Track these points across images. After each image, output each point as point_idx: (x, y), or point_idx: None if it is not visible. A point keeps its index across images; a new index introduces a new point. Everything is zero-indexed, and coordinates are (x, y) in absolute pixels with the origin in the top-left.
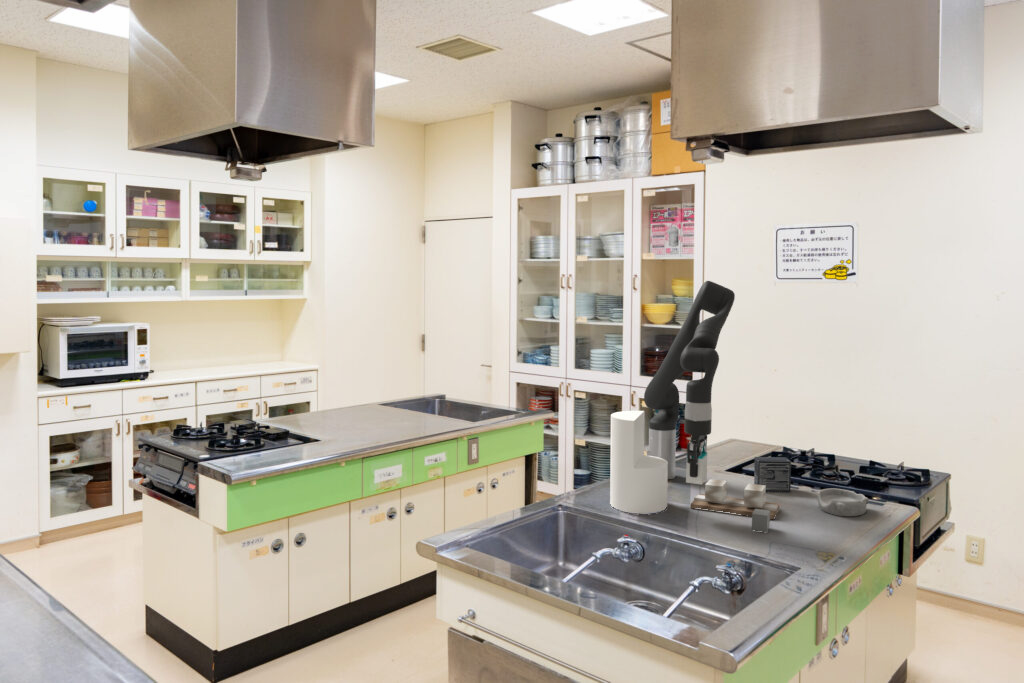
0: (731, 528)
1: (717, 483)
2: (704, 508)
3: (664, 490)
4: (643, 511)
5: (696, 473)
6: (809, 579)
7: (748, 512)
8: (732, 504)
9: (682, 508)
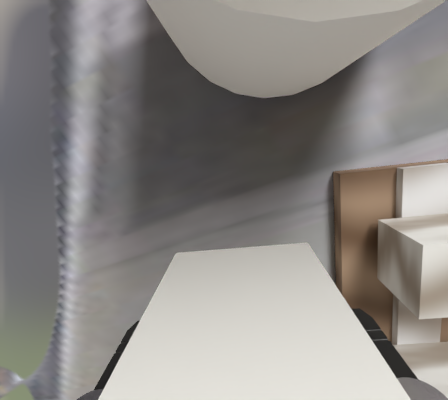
0: None
1: None
2: (337, 221)
3: (268, 80)
4: (173, 41)
5: None
6: None
7: None
8: (394, 302)
9: (323, 144)
